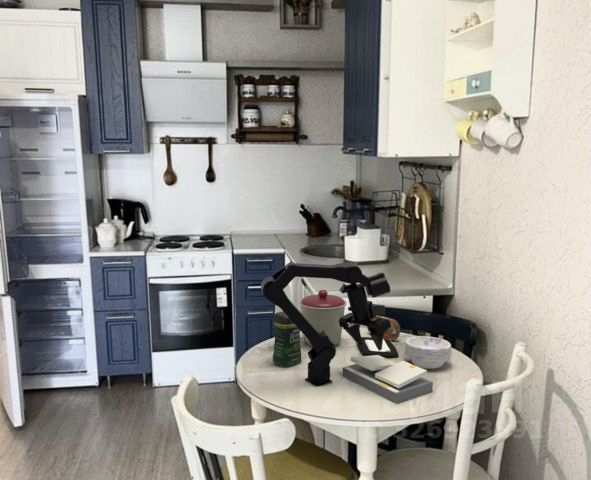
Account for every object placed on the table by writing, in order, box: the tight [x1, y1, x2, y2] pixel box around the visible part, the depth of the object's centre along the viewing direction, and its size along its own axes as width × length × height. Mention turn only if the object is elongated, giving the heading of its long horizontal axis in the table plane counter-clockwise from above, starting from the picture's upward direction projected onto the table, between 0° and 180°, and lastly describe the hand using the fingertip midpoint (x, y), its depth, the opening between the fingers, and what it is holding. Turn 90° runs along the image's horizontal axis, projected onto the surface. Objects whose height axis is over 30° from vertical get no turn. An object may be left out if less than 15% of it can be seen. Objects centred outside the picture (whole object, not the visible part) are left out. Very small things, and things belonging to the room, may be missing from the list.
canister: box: [298, 289, 348, 347], centre depth 208 cm, size 18×18×21 cm
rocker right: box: [375, 360, 428, 388], centre depth 167 cm, size 12×10×1 cm
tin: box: [366, 315, 401, 342], centre depth 217 cm, size 15×3×8 cm, turn 42°
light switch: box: [356, 336, 400, 359], centre depth 204 cm, size 20×3×14 cm
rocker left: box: [350, 355, 398, 371], centre depth 177 cm, size 12×10×1 cm
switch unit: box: [342, 363, 434, 405], centre depth 172 cm, size 15×24×4 cm, turn 35°
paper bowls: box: [404, 335, 452, 370], centre depth 189 cm, size 15×15×8 cm
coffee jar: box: [272, 312, 302, 368], centre depth 189 cm, size 10×8×19 cm
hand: (370, 347), depth 175 cm, fingers open, 9 cm apart
